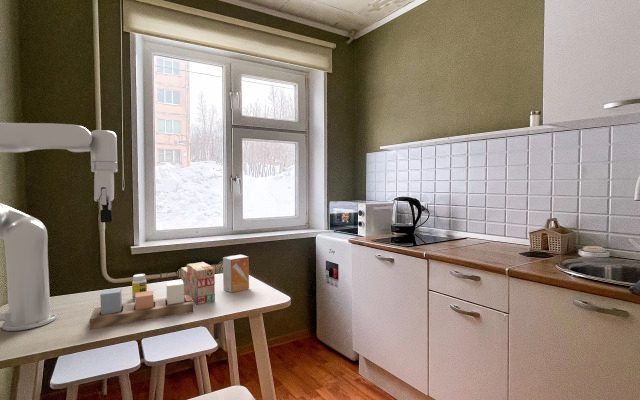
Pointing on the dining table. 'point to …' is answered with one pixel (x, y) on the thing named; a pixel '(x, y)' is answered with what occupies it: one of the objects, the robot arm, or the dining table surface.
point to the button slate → (111, 301)
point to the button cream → (175, 292)
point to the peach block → (144, 300)
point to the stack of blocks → (199, 282)
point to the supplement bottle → (139, 284)
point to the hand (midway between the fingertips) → (106, 221)
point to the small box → (236, 273)
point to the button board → (140, 313)
